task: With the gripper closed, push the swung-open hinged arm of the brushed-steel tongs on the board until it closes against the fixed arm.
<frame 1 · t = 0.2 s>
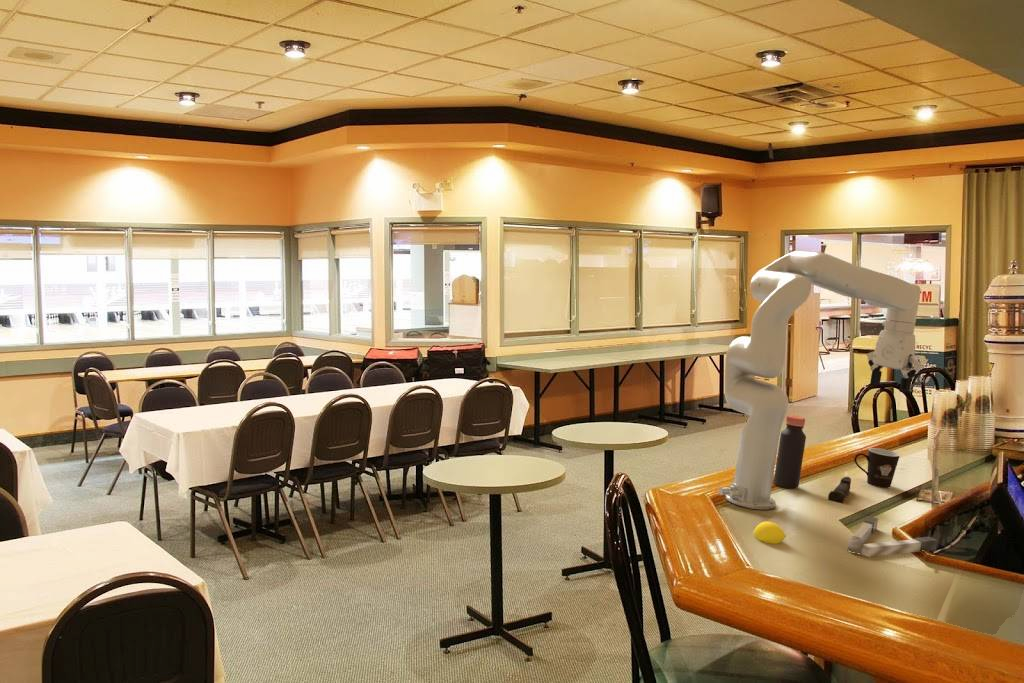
hand: (889, 388, 228), 31 cm above the table, fingers open, 9 cm apart
hand tool: (838, 498, 227), on the table
tongs board: (878, 548, 187), on the table
lemon: (767, 546, 182), on the table
bottle: (785, 486, 233), on the table
coffee mug: (873, 484, 245), on the table
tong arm: (864, 531, 190), point 3 cm above the table, hinge at 30.0°
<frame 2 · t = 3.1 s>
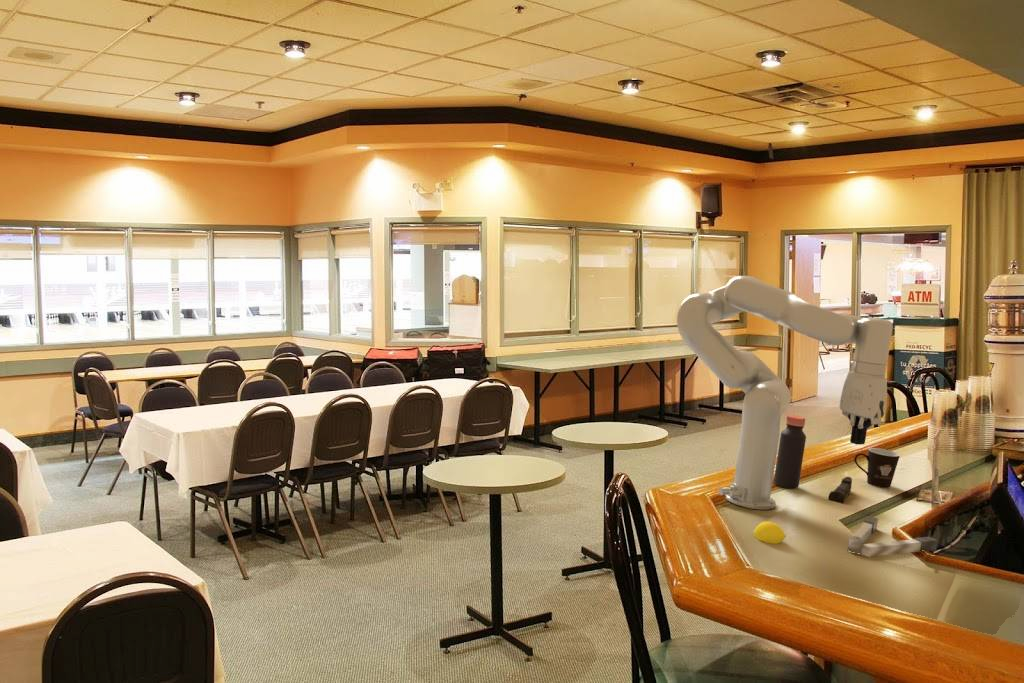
hand: (857, 443, 199), 21 cm above the table, fingers closed
nothing on the table moved.
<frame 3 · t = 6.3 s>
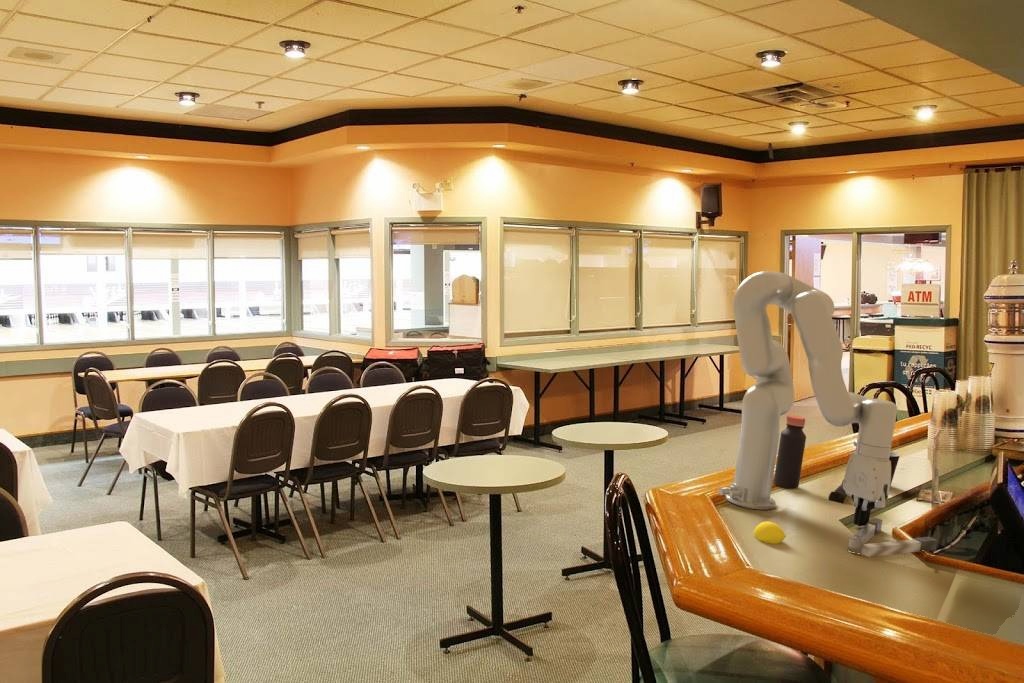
hand: (860, 524, 197), 2 cm above the table, fingers closed
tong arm: (867, 532, 190), point 3 cm above the table, hinge at 27.3°, touching gripper
everything else where it was.
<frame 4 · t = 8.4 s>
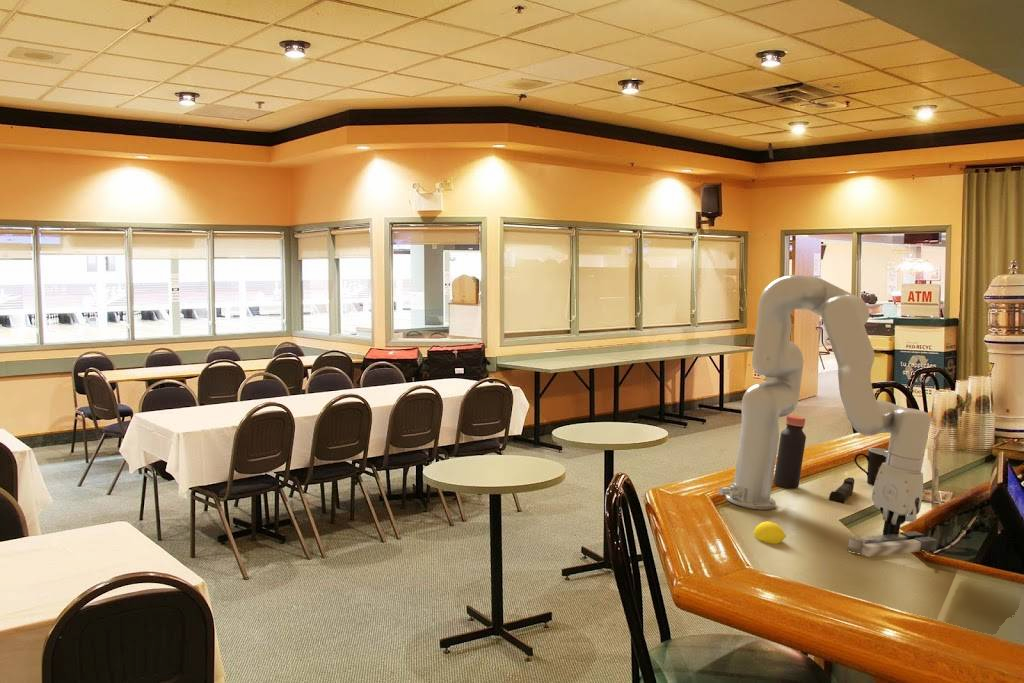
hand: (889, 538, 189), 2 cm above the table, fingers closed
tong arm: (890, 540, 185), point 3 cm above the table, hinge at -0.3°, touching gripper
everything else where it was.
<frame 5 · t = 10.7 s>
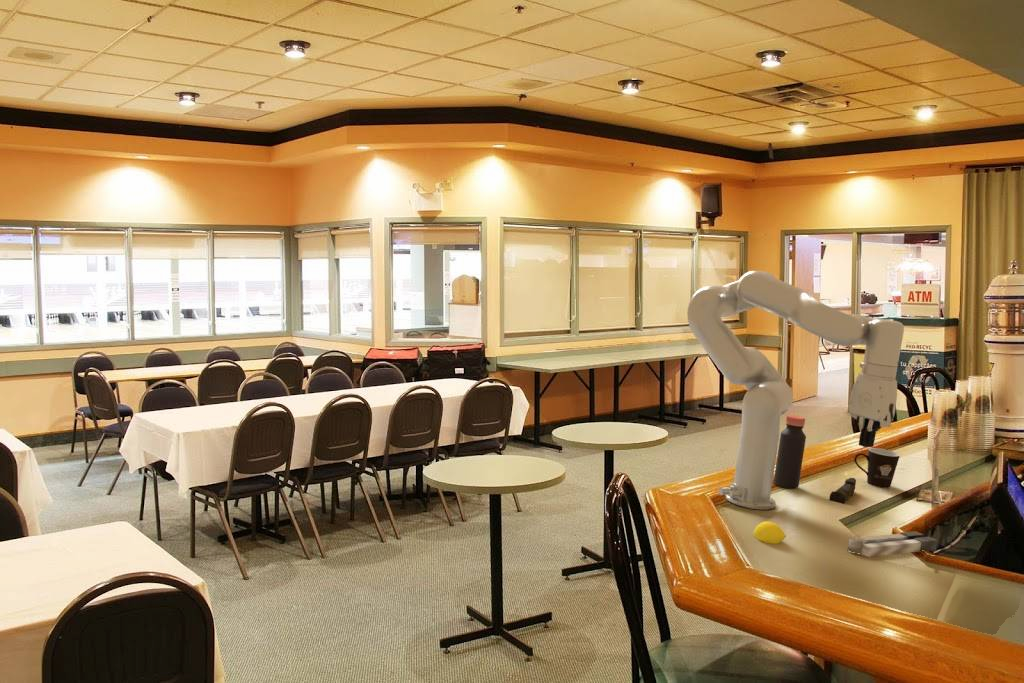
hand: (865, 445, 196), 21 cm above the table, fingers closed
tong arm: (890, 540, 185), point 3 cm above the table, hinge at -0.4°
everything else where it was.
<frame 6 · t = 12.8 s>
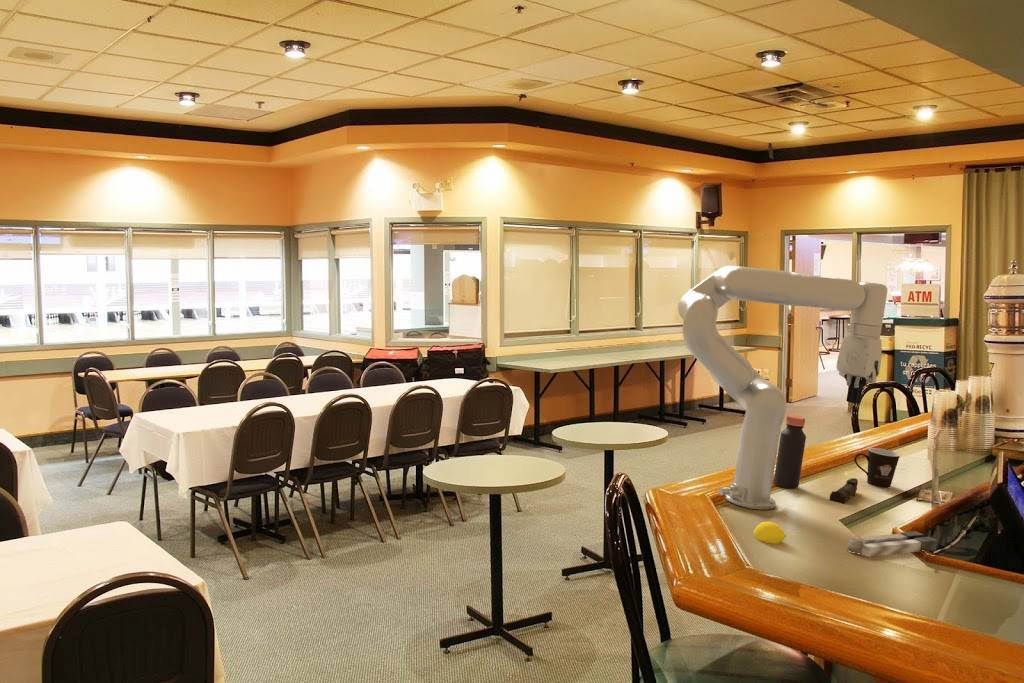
hand: (853, 402, 209), 29 cm above the table, fingers closed
at the end: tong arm at +0° (first picture: +30°); lemon moved 0.3 cm from its start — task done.
